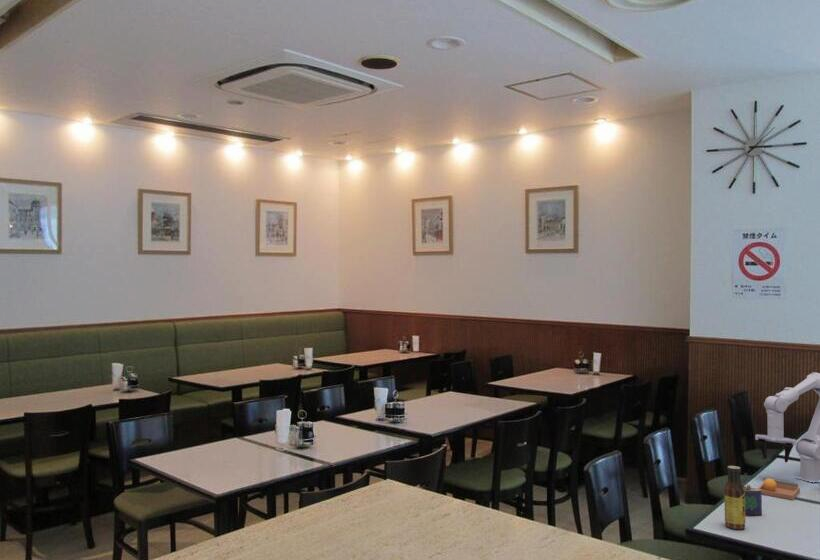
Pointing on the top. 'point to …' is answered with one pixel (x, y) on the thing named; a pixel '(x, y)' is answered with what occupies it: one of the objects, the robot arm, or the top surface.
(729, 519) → the sauce bottle
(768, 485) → the ball
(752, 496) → the flask
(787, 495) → the tray
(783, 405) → the robot arm
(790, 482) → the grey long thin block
